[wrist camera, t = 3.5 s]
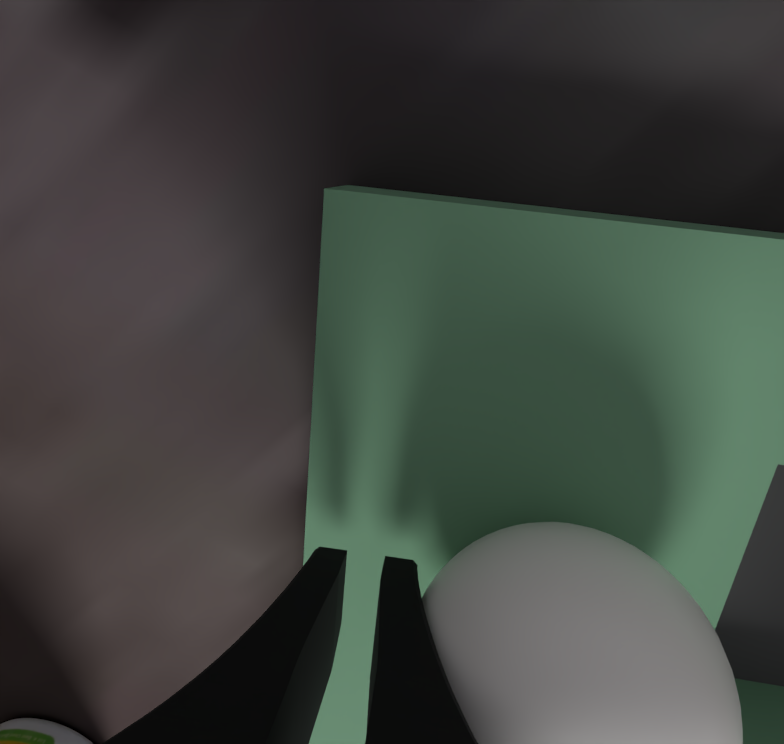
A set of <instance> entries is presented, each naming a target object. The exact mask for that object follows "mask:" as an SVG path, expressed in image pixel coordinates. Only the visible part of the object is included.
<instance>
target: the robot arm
mask: <svg viewBox="0 0 784 744" xmlns="http://www.w3.org/2000/svg"><path fill="white" fill-rule="evenodd" d="M346 560H347V550H341V549H334V548H327V547H318V548H317V549H315V550H314V552H313V553H312V555H311V556H310V558H309V559H308V560H307V562H306V563H305V565H304V566H303V567H302V569H301V570H300V571H299V572H298V574H297V575H296V576H295V578H294V579H293V580H292V581H291V582H290V584H289V585H288V586H287V587H286V589H285V590H284V591H283V592H282V593H281V594H280V595H279V597H278V598H277V599H276V600H275V601H274V602H273V604H272V605H271V606H270V607H269V608H268V609H267V610H266V611H265V613H264V614H263V615H262V616H261V617H260V618H259V619H258V620H257V621H256V622H255V623H254V624H253V625H252V626H251V627H250V628H249V629H248V630H247V631H246V632H245V633H244V634H243V635H242V636H241V637H240V638H239V639H238V640H237V641H236V642H235V643H234V644H233V645H232V646H231V647H230V648H229V649H228V650H227V651H225V652H224V653H223V654H222V655H221V656H220V657H219V658H218V659H217V660H216V661H214V662H213V663H212V664H211V665H210V666H209V667H207V668H206V669H205V670H204V671H203V672H202V673H200V674H199V675H198V676H197V677H196V678H194V679H193V680H192V681H190V682H189V683H188V684H187V685H185V686H184V687H183V688H182V689H180V690H179V691H178V692H176V693H175V694H174V695H173V696H171V697H170V698H169V699H167V700H166V701H165V702H163V703H162V704H161V705H159V706H158V707H157V708H155V709H154V710H152V711H151V712H150V713H148V714H147V715H145V716H144V717H142V718H141V719H139V720H137V721H136V722H134V723H133V724H131V725H130V726H128V727H127V728H125V729H124V730H122V731H121V732H119V733H118V734H116V735H115V736H113V737H112V738H110V739H109V740H107V741H106V742H104V743H103V744H309V741H310V738H311V735H312V732H313V728H314V725H315V722H316V719H317V716H318V713H319V709H320V706H321V703H322V700H323V697H324V693H325V690H326V687H327V684H328V681H329V677H330V674H331V671H332V667H333V662H334V657H335V652H336V648H337V643H338V638H339V633H340V628H341V623H342V610H343V598H344V585H345V573H346ZM417 566H418V565H417V564H416V563H415V562H414V560H410V559H403V558H397V557H390V556H385V559H384V563H383V568H382V573H381V579H380V588H379V597H378V606H377V616H376V625H375V634H374V643H373V653H372V662H371V671H370V684H369V700H368V716H367V732H366V741H365V744H478V743H477V741H476V739H475V737H474V735H473V733H472V731H471V729H470V727H469V725H468V723H467V721H466V719H465V717H464V715H463V713H462V710H461V708H460V706H459V704H458V702H457V700H456V698H455V695H454V693H453V691H452V688H451V686H450V683H449V681H448V679H447V676H446V674H445V671H444V668H443V666H442V663H441V660H440V658H439V655H438V652H437V649H436V646H435V644H434V640H433V637H432V634H431V631H430V627H429V624H428V621H427V617H426V614H425V610H424V606H423V601H422V597H421V592H420V587H419V580H418V570H417Z"/></svg>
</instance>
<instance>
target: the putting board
mask: <svg viewBox="0 0 784 744" xmlns="http://www.w3.org/2000/svg"><path fill="white" fill-rule="evenodd" d="M534 522H563V523H571V524H576V525H581V526H585V527H589V528H594V529H597V530H599V531H602V532H605V533H608V534H610V535H613V536H615V537H617V538H619V539H621V540H623V541H625V542H627V543H629V544H631V545H633V546H635V547H636V548H638V549H639V550H641V551H642V552H644V553H645V554H647V555H648V556H650V557H651V558H652V559H654V560H655V561H656V562H658V563H659V564H660V565H662V566H663V567H664V568H665V569H666V570H667V571H668V572H669V573H670V574H672V575H673V576H674V577H675V578H676V579H677V580H678V581H679V582H680V583H681V584H682V586H683V587H684V588H685V589H686V590H687V591H688V592H689V593H690V595H691V596H692V597H693V598H694V600H695V601H696V602H697V603H698V605H699V606H700V607H701V609H702V611H703V612H704V614H705V615H706V617H707V618H708V620H709V622H710V623H711V625H712V627H713V628H714V630H715V632H716V633H717V635H718V637H719V639H720V642H721V644H722V646H723V649H724V651H725V654H726V656H727V659H728V661H729V664H730V666H731V668H732V671H733V675H734V679H735V683H736V687H737V691H738V696H739V701H740V705H741V716H742V728H743V744H784V233H778V232H769V231H760V230H751V229H742V228H733V227H724V226H715V225H706V224H697V223H688V222H679V221H670V220H661V219H652V218H643V217H633V216H624V215H615V214H606V213H597V212H588V211H579V210H570V209H561V208H552V207H543V206H534V205H525V204H516V203H507V202H498V201H489V200H480V199H471V198H462V197H453V196H444V195H435V194H426V193H417V192H408V191H399V190H389V189H380V188H371V187H362V186H353V185H345V186H338V187H331V188H324V201H323V219H322V237H321V254H320V272H319V290H318V308H317V326H316V344H315V362H314V380H313V398H312V416H311V434H310V451H309V469H308V487H307V505H306V523H305V541H304V559H303V566H304V565H305V563H306V562H307V560H308V559H309V558H310V556H311V555H312V553H313V552H314V550H315V549H317V548H318V547H327V548H334V549H341V550H347V560H346V573H345V585H344V598H343V610H342V623H341V628H340V633H339V638H338V643H337V648H336V652H335V657H334V662H333V667H332V671H331V674H330V677H329V681H328V684H327V687H326V690H325V693H324V697H323V700H322V703H321V706H320V709H319V713H318V716H317V719H316V722H315V725H314V728H313V732H312V735H311V738H310V741H309V744H365V741H366V732H367V716H368V700H369V684H370V671H371V662H372V653H373V643H374V634H375V625H376V616H377V606H378V597H379V588H380V579H381V573H382V568H383V563H384V559H385V556H390V557H397V558H403V559H410V560H414V562H415V563H416V564H417V565H418V566H417V570H418V580H419V587H420V592H421V597H423V595H424V593H425V591H426V589H427V588H428V586H429V585H430V583H431V582H432V581H433V579H434V578H435V576H436V575H437V574H438V573H439V572H440V571H441V569H442V568H443V567H444V566H445V565H446V564H447V563H448V562H449V561H450V560H451V559H452V558H453V557H454V556H455V555H456V554H458V553H459V552H460V551H461V550H463V549H464V548H465V547H467V546H468V545H470V544H471V543H473V542H474V541H476V540H478V539H480V538H482V537H484V536H486V535H488V534H490V533H493V532H495V531H497V530H500V529H503V528H507V527H510V526H514V525H519V524H525V523H534Z"/></svg>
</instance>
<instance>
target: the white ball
mask: <svg viewBox="0 0 784 744" xmlns="http://www.w3.org/2000/svg"><path fill="white" fill-rule="evenodd" d="M422 601H423V606H424V610H425V614H426V617H427V621H428V624H429V627H430V631H431V634H432V637H433V640H434V644H435V646H436V649H437V652H438V655H439V658H440V660H441V663H442V666H443V668H444V671H445V674H446V676H447V679H448V681H449V683H450V686H451V688H452V691H453V693H454V695H455V698H456V700H457V702H458V704H459V706H460V708H461V710H462V713H463V715H464V717H465V719H466V721H467V723H468V725H469V727H470V729H471V731H472V733H473V735H474V737H475V739H476V741H477V743H478V744H743V728H742V716H741V705H740V701H739V696H738V691H737V687H736V683H735V679H734V675H733V671H732V668H731V666H730V664H729V661H728V659H727V656H726V654H725V651H724V649H723V646H722V644H721V642H720V639H719V637H718V635H717V633H716V632H715V630H714V628H713V627H712V625H711V623H710V622H709V620H708V618H707V617H706V615H705V614H704V612H703V611H702V609H701V607H700V606H699V605H698V603H697V602H696V601H695V600H694V598H693V597H692V596H691V595H690V593H689V592H688V591H687V590H686V589H685V588H684V587H683V586H682V584H681V583H680V582H679V581H678V580H677V579H676V578H675V577H674V576H673V575H672V574H670V573H669V572H668V571H667V570H666V569H665V568H664V567H663V566H662V565H660V564H659V563H658V562H656V561H655V560H654V559H652V558H651V557H650V556H648V555H647V554H645V553H644V552H642V551H641V550H639V549H638V548H636V547H635V546H633V545H631V544H629V543H627V542H625V541H623V540H621V539H619V538H617V537H615V536H613V535H610V534H608V533H605V532H602V531H599V530H597V529H594V528H589V527H585V526H581V525H576V524H571V523H563V522H534V523H525V524H519V525H514V526H510V527H507V528H503V529H500V530H497V531H495V532H493V533H490V534H488V535H486V536H484V537H482V538H480V539H478V540H476V541H474V542H473V543H471V544H470V545H468V546H467V547H465V548H464V549H463V550H461V551H460V552H459V553H458V554H456V555H455V556H454V557H453V558H452V559H451V560H450V561H449V562H448V563H447V564H446V565H445V566H444V567H443V568H442V569H441V571H440V572H439V573H438V574H437V575H436V576H435V578H434V579H433V581H432V582H431V583H430V585H429V586H428V588H427V589H426V591H425V593H424V595H423V597H422Z"/></svg>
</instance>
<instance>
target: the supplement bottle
mask: <svg viewBox="0 0 784 744" xmlns="http://www.w3.org/2000/svg"><path fill="white" fill-rule="evenodd" d="M0 744H93V743H92V742H91V741H90V740H88V739H87V738H86V737H84V736H83V735H81V734H79V733H78V732H76V731H74V730H72V729H70V728H68V727H66V726H63V725H61V724H58V723H55V722H52V721H48V720H43V719H37V718H18V719H12V720H9V721H6V722H4V723H2V724H0Z"/></svg>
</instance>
